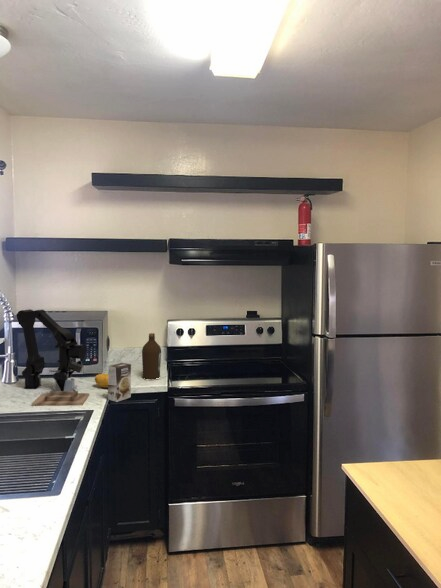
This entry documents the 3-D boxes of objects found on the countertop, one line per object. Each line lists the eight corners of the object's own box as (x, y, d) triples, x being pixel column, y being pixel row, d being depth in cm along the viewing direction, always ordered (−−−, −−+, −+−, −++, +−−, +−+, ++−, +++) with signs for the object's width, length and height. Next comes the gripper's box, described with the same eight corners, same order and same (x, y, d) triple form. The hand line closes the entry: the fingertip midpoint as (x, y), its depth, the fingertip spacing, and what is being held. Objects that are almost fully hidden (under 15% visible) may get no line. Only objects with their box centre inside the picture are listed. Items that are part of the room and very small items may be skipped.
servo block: (52, 393, 212) (51, 379, 212) (54, 390, 217) (54, 377, 216) (75, 392, 213) (75, 379, 213) (77, 390, 218) (77, 376, 217)
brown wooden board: (31, 405, 193) (31, 399, 192) (42, 395, 208) (42, 389, 207) (82, 405, 195) (82, 398, 195) (89, 395, 210) (89, 389, 210)
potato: (101, 384, 229) (101, 371, 228) (124, 387, 223) (124, 374, 223) (92, 387, 222) (92, 374, 222) (115, 391, 217) (115, 377, 216)
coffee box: (117, 402, 200) (117, 367, 199) (107, 399, 204) (107, 365, 203) (131, 397, 208) (131, 363, 207) (121, 394, 211) (121, 362, 210)
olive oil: (142, 380, 237) (142, 335, 235) (141, 375, 247) (141, 332, 246) (161, 380, 239) (162, 335, 238) (160, 375, 250) (160, 332, 248)
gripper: (77, 361, 205) (77, 393, 206) (85, 353, 224) (85, 383, 225) (52, 361, 204) (53, 394, 205) (63, 353, 223) (63, 383, 224)
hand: (64, 388), depth 215 cm, fingers open, 9 cm apart
